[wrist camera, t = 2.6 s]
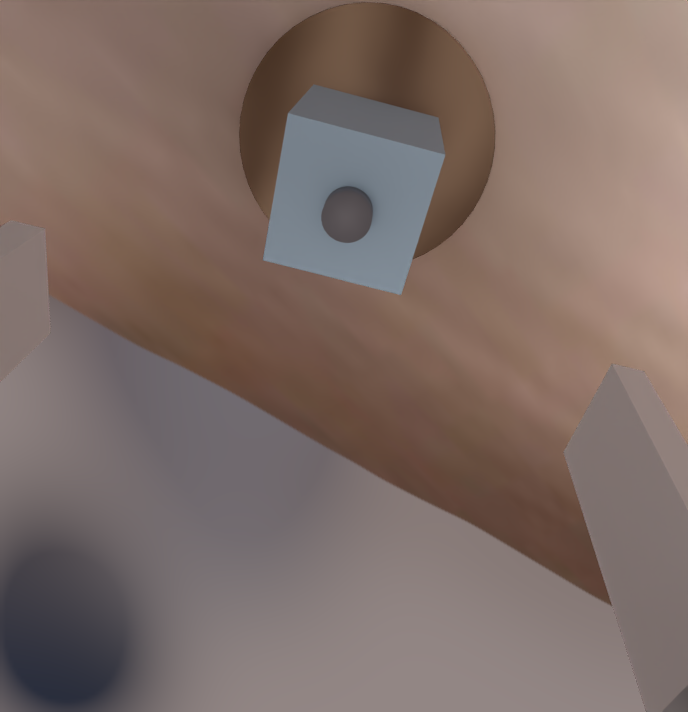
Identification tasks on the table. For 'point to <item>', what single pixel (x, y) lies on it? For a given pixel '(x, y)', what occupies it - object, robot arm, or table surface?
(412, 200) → the cube with round hole
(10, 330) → the robot arm
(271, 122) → the post stand
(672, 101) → the table surface
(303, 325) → the table surface
